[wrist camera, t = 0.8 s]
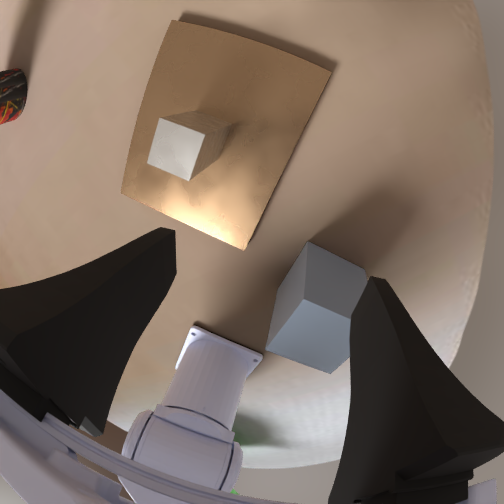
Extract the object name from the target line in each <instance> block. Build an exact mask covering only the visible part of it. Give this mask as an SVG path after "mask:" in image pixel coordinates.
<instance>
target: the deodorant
mask: <svg viewBox="0 0 504 504" xmlns="http://www.w3.org/2000/svg"><path fill="white" fill-rule="evenodd" d="M26 97H27V82H26V77H25V75H24V73H23V72H22V71H21V70H20V69H12V70H6V71H1V72H0V124H3V123H6V122H9V121H12V120H15V119H17V118H18V117H19V116H20V115H21V113H22V111H23V109H24V106H25V102H26Z"/></svg>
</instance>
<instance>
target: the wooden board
mask: <svg viewBox="0 0 504 504" xmlns="http://www.w3.org/2000/svg"><path fill="white" fill-rule="evenodd" d="M331 73H332V72H330V71H328V70H326V69H324V68H322V67H320V66H318V65H315V64H313V63H311V62H309V61H306V60H304V59H302V58H299V57H297V56H295V55H292V54H290V53H287V52H285V51H282V50H279V49H277V48H274V47H271V46H269V45H266V44H263V43H260V42H257V41H254V40H251V39H248V38H245V37H242V36H238V35H235V34H231V33H228V32H224V31H221V30H217V29H213V28H209V27H205V26H200V25H196V24H191V23H186V22H181V21H176V20H172V21H171V23H170V25H169V28H168V30H167V33H166V35H165V37H164V40H163V42H162V45H161V48H160V50H159V53H158V55H157V58H156V61H155V64H154V66H153V69H152V72H151V75H150V78H149V81H148V84H147V87H146V90H145V94H144V97H143V100H142V104H141V107H140V110H139V114H138V118H137V121H136V125H135V129H134V133H133V137H132V141H131V145H130V149H129V154H128V158H127V163H126V168H125V173H124V178H123V183H122V189H121V194H124V195H126V196H128V197H130V198H132V199H134V200H136V201H139V202H141V203H143V204H145V205H147V206H149V207H151V208H154V209H156V210H158V211H160V212H162V213H164V214H166V215H169V216H171V217H173V218H175V219H177V220H179V221H181V222H184V223H186V224H188V225H190V226H192V227H194V228H196V229H199V230H201V231H203V232H205V233H207V234H209V235H211V236H214V237H216V238H218V239H220V240H222V241H224V242H226V243H229V244H231V245H233V246H235V247H237V248H239V249H242V250H245V248H246V246H247V244H248V242H249V240H250V238H251V236H252V234H253V232H254V230H255V228H256V226H257V223H258V221H259V219H260V217H261V215H262V213H263V211H264V209H265V207H266V205H267V203H268V201H269V199H270V197H271V195H272V193H273V191H274V189H275V186H276V184H277V182H278V180H279V178H280V176H281V174H282V172H283V170H284V168H285V166H286V164H287V162H288V160H289V158H290V156H291V154H292V152H293V150H294V148H295V146H296V144H297V142H298V140H299V138H300V136H301V134H302V132H303V129H304V127H305V125H306V123H307V121H308V119H309V117H310V115H311V113H312V111H313V109H314V107H315V105H316V103H317V101H318V99H319V97H320V95H321V93H322V91H323V89H324V87H325V85H326V83H327V81H328V79H329V77H330V75H331Z"/></svg>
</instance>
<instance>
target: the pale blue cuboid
mask: <svg viewBox="0 0 504 504" xmlns="http://www.w3.org/2000/svg"><path fill="white" fill-rule="evenodd" d="M367 283H368V282H367V277H366V273H365V270H364V269H362V268H361V267H359V266H357V265H355V264H353V263H351V262H349V261H347V260H345V259H343V258H341V257H339V256H337V255H335V254H333V253H331V252H329V251H327V250H325V249H323V248H321V247H319V246H317V245H315V244H313V243H311V242H309V241H307V243H306V244H305V246H304V248H303V249H302V251H301V253H300V254H299V256H298V257H297V259H296V261H295V262H294V264H293V266H292V267H291V269H290V270H289V272H288V274H287V275H286V277H285V278H284V280H283V282H282V283H281V285H280V286H279V288H278V290H277V295H276V300H275V305H274V310H273V314H272V319H271V324H270V329H269V333H268V338H267V343H266V347H265V350H267V351H270V352H272V353H275V354H277V355H280V356H282V357H285V358H288V359H290V360H293V361H296V362H298V363H301V364H304V365H307V366H309V367H312V368H315V369H318V370H321V371H324V372H326V373H329V374H331V373H332V372H333V371H334V370H336V369H337V368H338V367H339V366H340V365H341V364H342V363H343V362H344V361H346V360H347V359H348V358H349V357H350V346H349V336H350V322H351V314H352V312H353V311H354V309H355V307H356V305H357V303H358V301H359V299H360V297H361V295H362V293H363V291H364V289H365V287H366V285H367Z"/></svg>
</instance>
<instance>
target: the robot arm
mask: <svg viewBox="0 0 504 504" xmlns="http://www.w3.org/2000/svg"><path fill="white" fill-rule="evenodd" d="M176 274H177V270H176V239H175V230H171V229H167V228H163V227H160V228H157V229H155V230H153V231H151V232H149V233H147V234H145V235H143V236H141V237H139V238H137V239H135V240H133V241H131V242H129V243H128V244H126V245H124V246H122V247H120V248H118V249H116V250H114V251H112V252H110V253H108V254H106V255H104V256H102V257H100V258H98V259H96V260H94V261H91V262H89V263H87V264H85V265H82V266H80V267H77V268H75V269H72V270H70V271H67V272H65V273H62V274H59V275H56V276H53V277H50V278H46V279H43V280H40V281H37V282H33V283H29V284H25V285H20V286H16V287H11V288H5V289H0V475H1V476H2V477H3V478H4V480H5V481H6V482H7V483H8V484H9V485H10V486H11V487H12V489H13V490H14V491H15V492H16V493H17V494H18V495H19V496H20V497H21V498H22V499H23V500H24V501H25V502H26V503H27V504H295V503H286V502H278V501H271V500H264V499H258V498H252V497H248V496H243V495H238V494H233V493H230V492H231V491H232V489H233V487H234V485H235V483H236V481H237V478H238V476H239V473H240V469H241V465H242V460H243V451H242V449H241V447H240V445H239V443H238V442H234V441H233V439H234V435H235V432H233V431H232V427H233V424H234V420H235V416H236V413H237V409H238V405H239V402H240V398H241V394H242V391H243V387H244V383H245V379H246V378H247V377H248V376H249V375H250V373H251V372H252V371H253V370H254V369H255V367H256V366H257V365H258V364H259V363H260V361H261V360H262V358H263V356H262V354H260V353H258V352H255V351H253V350H250V349H248V348H245V347H243V346H241V345H238V344H236V343H233V342H231V341H229V340H226V339H224V338H222V337H220V336H217V335H215V334H213V333H211V332H208V331H206V330H204V329H202V328H200V327H198V326H192V327H191V329H190V331H189V333H188V336H187V339H186V341H185V344H184V346H183V349H182V351H181V354H180V356H179V359H178V361H177V364H176V367H175V368H176V369H177V370H176V372H175V374H174V376H173V379H172V381H171V383H170V385H169V387H168V390H167V392H166V394H165V396H164V398H163V401H162V403H161V405H160V404H157V407H156V409H155V411H154V412H153V411H151V410H146V411H144V412H141V413H139V415H138V416H137V417H136V419H135V420H134V422H133V424H132V426H131V428H130V430H129V432H128V435H127V437H126V440H125V443H124V446H123V450H122V455H120V454H118V453H116V452H114V451H112V450H110V449H108V448H106V447H104V446H102V445H100V444H99V443H96V442H95V441H93V440H91V439H90V438H88V437H86V436H84V435H83V434H81V433H79V432H77V431H76V430H74V429H72V428H71V427H69V424H70V425H72V426H73V427H75V428H77V429H79V428H80V429H81V430H83V431H85V432H87V433H88V434H90V435H92V436H94V437H97V436H100V435H102V434H103V432H104V428H105V424H106V421H107V417H108V414H109V410H110V407H111V404H112V401H113V398H114V395H115V392H116V389H117V386H118V384H119V381H120V379H121V376H122V374H123V371H124V369H125V367H126V364H127V362H128V360H129V358H130V355H131V353H132V351H133V349H134V347H135V345H136V343H137V341H138V340H139V338H140V336H141V335H142V333H143V331H144V330H145V328H146V327H147V325H148V323H149V322H150V320H151V319H152V317H153V316H154V314H155V312H156V311H157V309H158V308H159V306H160V305H161V303H162V301H163V300H164V298H165V297H166V295H167V293H168V291H169V289H170V287H171V285H172V282H173V280H174V278H175V276H176ZM349 346H350V374H351V399H350V409H349V417H348V424H347V430H346V436H345V441H344V447H343V451H342V455H341V459H340V464H339V468H338V471H337V474H336V478H335V481H334V484H333V488H332V490H331V493H330V496H329V499H328V504H496V503H497V501H496V500H497V495H496V479H495V478H493V479H491V480H487V481H484V482H481V483H478V484H475V485H472V486H469V487H468V480H471V479H472V478H473V476H474V475H473V469H475V468H477V467H479V466H481V465H483V464H484V463H486V462H488V461H490V460H492V459H493V458H495V457H497V456H499V455H500V454H501V453H503V452H504V422H503V421H502V420H501V419H500V418H499V417H497V416H496V415H495V414H494V413H492V412H491V411H490V410H489V409H488V408H486V407H485V406H484V405H483V404H482V403H481V402H480V401H479V400H478V399H476V397H474V396H473V395H472V394H471V393H470V392H469V391H468V390H467V389H466V388H465V387H464V385H463V384H462V383H461V382H460V381H459V380H458V379H457V378H456V377H455V376H454V374H453V373H452V372H451V371H450V370H449V369H448V368H447V366H446V365H445V364H444V363H443V361H442V360H441V359H440V357H439V356H438V355H437V354H436V352H435V351H434V350H433V348H432V347H431V346H430V344H429V343H428V342H427V340H426V339H425V337H424V336H423V334H422V333H421V332H420V330H419V329H418V327H417V326H416V324H415V323H414V321H413V320H412V318H411V317H410V315H409V313H408V312H407V310H406V309H405V307H404V306H403V304H402V303H401V301H400V300H399V298H398V297H397V295H396V294H395V292H394V291H393V289H392V288H391V286H390V285H389V283H388V282H387V281H386V280H385V279H381V278H377V277H373V276H370V278H369V280H368V283H367V285H366V287H365V289H364V291H363V293H362V295H361V297H360V299H359V301H358V303H357V305H356V307H355V309H354V311H353V312H352V314H351V322H350V336H349ZM74 451H75V452H76V453H78V454H80V455H81V456H83V457H85V458H86V459H88V460H90V461H92V462H93V463H95V464H97V465H99V466H101V467H103V468H105V469H106V470H109V471H110V472H113V473H114V474H116V475H118V478H119V480H120V482H121V483H122V485H123V486H124V488H125V489H126V490H127V492H128V493H129V495H130V496H131V497H132V499H133V500H134V501H135V502H132V501H130V500H128V499H125V498H123V497H121V496H119V493H120V491H121V489H122V486H121V484H119V483H117V482H115V481H113V480H111V479H109V478H107V477H105V476H103V475H101V474H99V473H98V472H96V471H94V470H92V469H90V468H89V467H87V466H85V465H83V464H82V463H80V462H79V461H78V460H77V455H76V453H75V452H74Z"/></svg>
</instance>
